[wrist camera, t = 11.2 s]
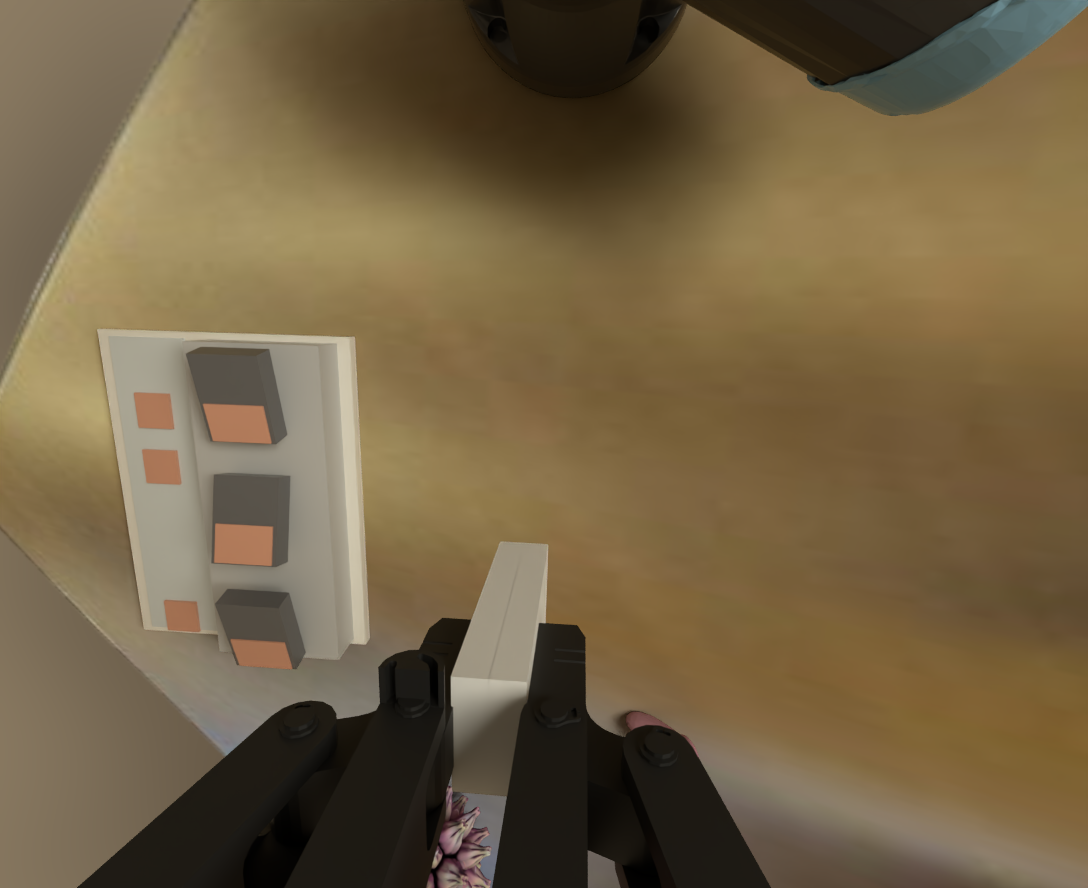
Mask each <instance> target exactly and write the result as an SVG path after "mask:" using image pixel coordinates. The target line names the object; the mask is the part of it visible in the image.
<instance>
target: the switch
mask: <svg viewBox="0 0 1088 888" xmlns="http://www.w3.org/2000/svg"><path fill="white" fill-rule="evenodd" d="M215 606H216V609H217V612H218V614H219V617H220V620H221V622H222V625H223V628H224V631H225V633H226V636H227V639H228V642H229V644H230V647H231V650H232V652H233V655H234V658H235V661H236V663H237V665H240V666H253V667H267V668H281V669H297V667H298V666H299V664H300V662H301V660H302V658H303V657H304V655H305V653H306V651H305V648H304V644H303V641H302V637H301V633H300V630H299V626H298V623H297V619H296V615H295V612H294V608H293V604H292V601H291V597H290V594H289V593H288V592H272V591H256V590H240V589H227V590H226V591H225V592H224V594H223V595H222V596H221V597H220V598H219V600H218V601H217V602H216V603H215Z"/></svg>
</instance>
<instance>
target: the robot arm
mask: <svg viewBox="0 0 1088 888" xmlns="http://www.w3.org/2000/svg"><path fill="white" fill-rule="evenodd" d="M463 2H464V5H465V7H466V10H467V13H468V15H469V18H470V21H471V23H472V26H473V28H474V30H475V32H476V34H477V36H478V38H479V40H480V42H481V43H482V45H483V47H484V48H485V50H486V51H487V52H488V54H489V55H490V56H491V58H492V59H493V60H494V61H495V62H496V63H497V64H498V65H499V66H500V67H501V68H502V69H503V70H504V71H505V72H506V73H507V74H508V75H510V76H511V77H512V78H514V79H515V80H516V81H518V82H520V83H521V84H523V85H525V86H527V87H529V88H531V89H533V90H536V91H538V92H541V93H544V94H548V95H552V96H558V97H569V98H576V97H587V96H593V95H597V94H601V93H604V92H607V91H610V90H612V89H614V88H617V87H619V86H621V85H623V84H624V83H626V82H628V81H630V80H631V79H633V78H634V77H635V76H637V75H638V74H639V73H641V72H642V71H643V70H644V69H645V68H647V67H648V66H649V65H650V64H651V63H652V62H653V61H654V60H655V59H656V58H657V56H658V55H659V54H660V53H661V52H662V50H663V49H664V48H665V46H666V45H667V44H668V42H669V41H670V39H671V38H672V36H673V34H674V33H675V31H676V29H677V27H678V25H679V23H680V21H681V19H682V16H683V14H684V11H685V9H686V6H687V4H688V5H690V6H692V7H693V8H695V9H697V10H699V11H700V12H702V13H704V14H705V15H707V16H709V17H710V18H712V19H714V20H716V21H717V22H719V23H721V24H722V25H724V26H726V27H728V28H729V29H731V30H733V31H734V32H736V33H738V34H739V35H741V36H743V37H745V38H746V39H748V40H750V41H751V42H753V43H755V44H757V45H758V46H760V47H762V48H763V49H765V50H767V51H768V52H770V53H772V54H774V55H775V56H777V57H779V58H780V59H782V60H784V61H785V62H787V63H789V64H791V65H792V66H794V67H796V68H797V69H799V70H801V71H803V72H804V73H806V74H807V79H808V81H809V82H810V83H811V84H812V85H814V86H815V87H817V88H818V89H820V90H824V91H831V92H839V93H841V94H843V95H845V96H847V97H849V98H851V99H853V100H855V101H856V102H858V103H860V104H862V105H864V106H866V107H868V108H870V109H872V110H874V111H876V112H878V113H881V114H884V115H889V116H898V115H910V114H922V113H926V112H929V111H932V110H935V109H938V108H940V107H943V106H945V105H948V104H950V103H952V102H954V101H956V100H958V99H960V98H962V97H964V96H966V95H968V94H970V93H971V92H973V91H975V90H977V89H978V88H980V87H982V86H983V85H985V84H987V83H988V82H990V81H991V80H993V79H994V78H996V77H997V76H999V75H1000V74H1002V73H1003V72H1005V71H1006V70H1008V69H1009V68H1011V67H1012V66H1014V65H1015V64H1016V63H1018V62H1019V61H1020V60H1022V59H1023V58H1024V57H1026V56H1027V55H1028V54H1030V53H1031V52H1032V51H1034V50H1035V49H1036V48H1038V47H1039V46H1040V45H1042V44H1043V43H1044V42H1045V41H1047V40H1048V39H1049V38H1050V37H1052V36H1053V35H1054V34H1055V33H1057V32H1058V31H1059V30H1060V29H1062V28H1063V27H1064V26H1065V25H1066V24H1068V23H1069V22H1070V21H1071V20H1072V19H1074V18H1075V17H1076V16H1077V15H1078V14H1079V13H1081V12H1082V11H1083V10H1084V9H1085V8H1086V7H1087V6H1088V0H463ZM547 565H548V544H534V543H516V542H500V544H499V546H498V549H497V552H496V554H495V557H494V560H493V563H492V565H491V568H490V571H489V574H488V576H487V579H486V582H485V584H484V587H483V590H482V593H481V595H480V598H479V601H478V604H477V606H476V609H475V612H474V615H473V617H472V620H467V619H452V618H442V619H441V620H439V621H438V622H437V623H436V624H434V625H433V626H432V627H430V628H429V630H428V632H427V634H426V636H425V638H424V640H423V643H422V645H421V647H420V649H419V650H407V651H404V652H400V653H397V654H394V655H393V656H391V657H389V658H387V659H386V660H385V661H384V662H383V663H382V664H381V665H380V666H379V667H378V668H379V690H380V704H379V706H378V708H377V710H376V711H374V712H371V713H369V714H364V715H360V716H355V717H349V718H343V719H337V718H336V713H335V711H334V709H333V708H332V706H330V705H328V704H326V703H324V702H319V701H305V702H299V703H295V704H293V705H290V706H287V707H285V708H283V709H281V710H280V711H278V712H277V713H275V714H274V715H272V716H271V717H270V718H269V719H268V720H267V721H265V722H264V723H263V724H262V725H261V726H260V727H259V728H257V729H256V730H255V731H254V732H253V733H252V734H251V735H250V736H248V737H247V738H246V739H245V740H244V741H243V742H242V743H240V744H239V745H238V746H237V747H236V748H235V749H234V750H233V751H231V752H230V753H229V754H228V755H227V756H226V757H225V758H223V759H222V760H221V761H220V762H219V763H218V764H217V765H216V766H214V767H213V768H212V769H211V770H210V771H209V772H208V773H206V774H205V775H204V776H203V777H202V778H201V779H200V780H199V781H197V782H196V783H195V784H194V785H193V786H192V787H191V788H190V789H189V790H187V791H186V792H185V793H184V794H183V795H182V796H181V797H179V798H178V799H177V800H176V801H175V802H174V803H172V804H171V805H170V806H169V807H168V808H167V809H166V810H165V811H163V812H162V813H161V814H160V815H159V816H158V817H157V818H155V819H154V820H153V821H152V822H151V823H150V824H149V825H148V826H146V827H145V828H144V829H143V830H142V831H141V832H140V833H138V835H136V836H135V837H134V838H133V839H132V840H131V841H129V842H128V843H127V844H126V845H125V846H124V847H123V848H122V849H120V850H119V851H118V852H117V853H116V854H115V855H114V856H113V857H111V858H110V859H109V860H108V861H107V862H106V863H104V864H103V865H102V866H101V867H100V868H99V869H98V870H97V871H95V872H94V873H93V874H92V875H91V876H90V877H89V878H87V879H86V880H85V881H84V882H83V883H82V884H81V885H80V886H78V887H77V888H426V887H427V883H428V879H429V876H430V872H431V868H432V865H433V861H434V857H435V854H436V850H437V846H438V842H439V839H440V835H441V831H442V828H443V824H444V820H445V817H446V791H447V788H448V784H449V781H450V777H451V774H452V792H462V793H474V794H486V795H497V796H507V800H506V806H505V812H504V818H503V825H502V831H501V837H500V843H499V849H498V855H497V862H496V868H495V874H494V880H493V886H492V888H588V850H589V851H592V852H594V853H596V854H599V855H601V856H603V857H606V858H608V859H610V860H613V861H615V870H616V873H617V877H618V880H619V884H620V887H621V888H771V887H770V885H769V883H768V882H767V880H766V878H765V876H764V874H763V873H762V871H761V869H760V867H759V865H758V864H757V862H756V860H755V858H754V856H753V855H752V853H751V851H750V849H749V847H748V846H747V844H746V842H745V840H744V838H743V837H742V835H741V833H740V831H739V829H738V828H737V826H736V824H735V822H734V820H733V819H732V817H731V815H730V813H729V811H728V810H727V808H726V806H725V804H724V802H723V801H722V799H721V797H720V795H719V794H718V792H717V790H716V788H715V786H714V785H713V783H712V781H711V779H710V777H709V776H708V774H707V772H706V770H705V768H704V767H703V765H702V763H701V761H700V759H699V758H698V756H697V754H696V752H695V750H694V749H693V747H692V746H691V744H690V743H689V742H688V741H687V740H686V738H685V737H683V736H682V735H680V734H679V733H677V732H676V731H674V730H672V729H669V728H666V727H663V726H660V725H644V726H640V727H637V728H634V729H633V730H632V731H630V732H629V733H628V734H627V735H626V737H625V738H624V737H621V736H618V735H615V734H613V733H611V732H608V731H606V730H604V729H603V728H601V727H600V726H598V725H597V724H596V723H595V722H594V721H593V720H592V719H591V718H590V716H589V714H588V712H587V709H586V673H585V636H584V635H583V633H582V632H581V630H580V629H579V627H578V626H577V625H564V624H549V623H546V594H547Z"/></svg>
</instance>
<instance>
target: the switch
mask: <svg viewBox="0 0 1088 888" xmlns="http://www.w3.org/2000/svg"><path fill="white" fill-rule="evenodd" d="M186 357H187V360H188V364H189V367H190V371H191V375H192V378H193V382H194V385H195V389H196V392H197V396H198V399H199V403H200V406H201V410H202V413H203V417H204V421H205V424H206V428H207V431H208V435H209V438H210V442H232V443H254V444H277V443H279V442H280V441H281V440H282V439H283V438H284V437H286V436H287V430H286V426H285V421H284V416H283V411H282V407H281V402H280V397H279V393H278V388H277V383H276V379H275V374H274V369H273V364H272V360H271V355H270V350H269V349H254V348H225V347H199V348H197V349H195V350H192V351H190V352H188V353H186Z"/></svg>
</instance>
